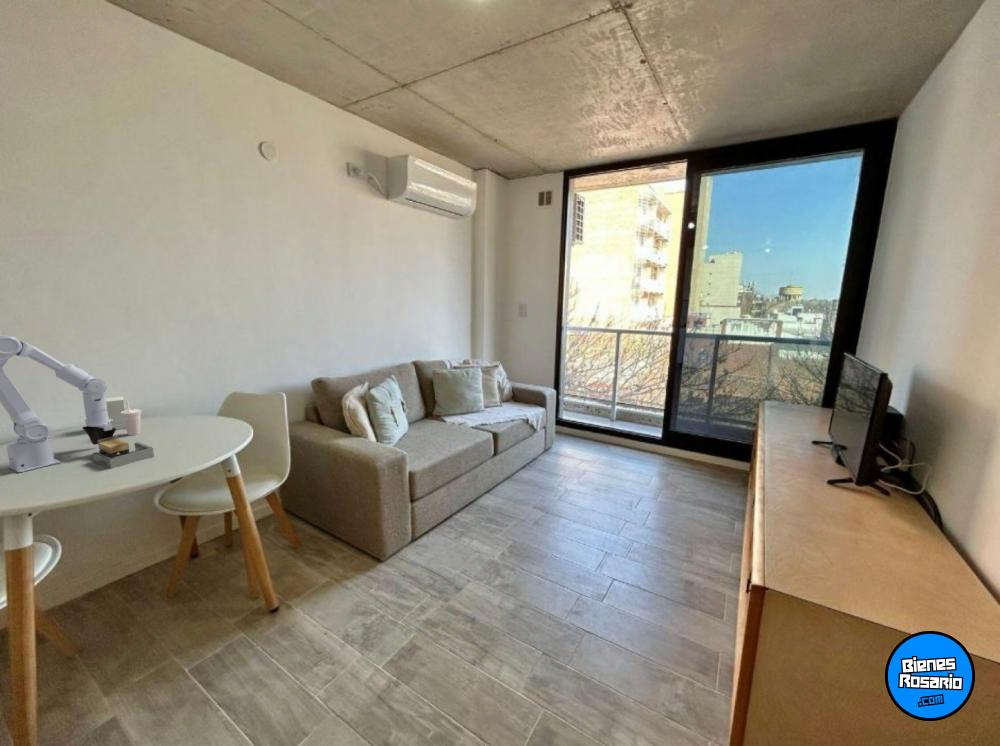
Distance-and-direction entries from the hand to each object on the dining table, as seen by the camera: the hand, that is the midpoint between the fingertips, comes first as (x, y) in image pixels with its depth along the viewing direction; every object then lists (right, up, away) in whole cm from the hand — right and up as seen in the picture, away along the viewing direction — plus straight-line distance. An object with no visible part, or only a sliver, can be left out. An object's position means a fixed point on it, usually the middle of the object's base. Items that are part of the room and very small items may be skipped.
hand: (101, 445), depth 149 cm
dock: (+14, -3, -6) cm, 16 cm away
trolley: (+8, -3, -3) cm, 9 cm away
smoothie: (-4, +2, +17) cm, 18 cm away
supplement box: (-17, +3, +24) cm, 29 cm away
